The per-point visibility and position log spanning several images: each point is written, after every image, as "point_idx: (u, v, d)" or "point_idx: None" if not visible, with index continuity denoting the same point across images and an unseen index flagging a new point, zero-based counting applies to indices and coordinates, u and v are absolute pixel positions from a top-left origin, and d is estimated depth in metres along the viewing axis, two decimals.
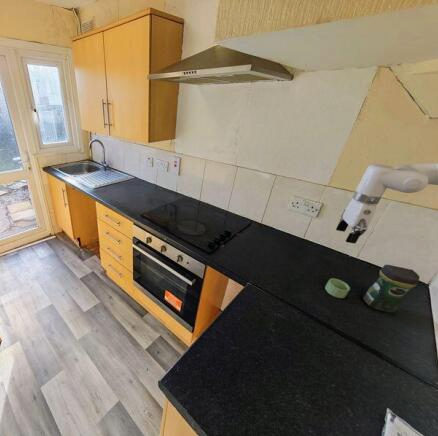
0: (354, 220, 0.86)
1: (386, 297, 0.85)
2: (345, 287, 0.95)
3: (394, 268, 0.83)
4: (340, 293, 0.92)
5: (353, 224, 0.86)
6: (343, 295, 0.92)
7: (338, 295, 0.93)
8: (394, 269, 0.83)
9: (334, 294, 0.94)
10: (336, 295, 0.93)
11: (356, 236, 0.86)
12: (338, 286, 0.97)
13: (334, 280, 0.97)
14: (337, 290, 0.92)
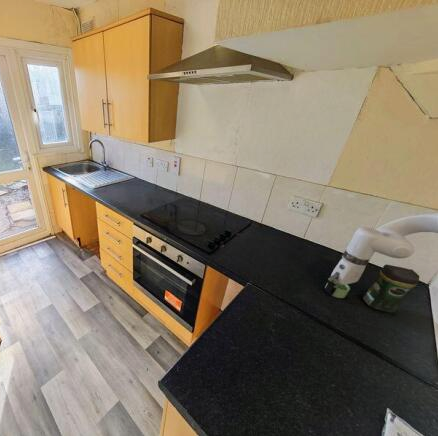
0: None
1: (386, 297, 0.85)
2: (345, 287, 0.95)
3: (394, 268, 0.83)
4: (340, 293, 0.92)
5: (331, 275, 0.93)
6: (343, 295, 0.92)
7: (338, 295, 0.93)
8: (394, 269, 0.83)
9: (334, 294, 0.94)
10: (336, 295, 0.93)
11: (331, 287, 0.93)
12: (338, 286, 0.97)
13: (334, 280, 0.97)
14: (337, 290, 0.92)
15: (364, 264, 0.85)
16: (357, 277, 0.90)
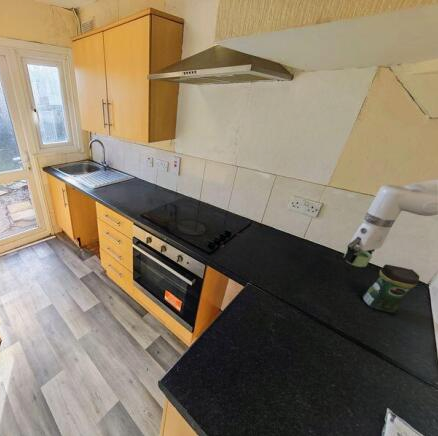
0: None
1: (386, 297, 0.85)
2: (366, 255, 0.87)
3: (394, 268, 0.83)
4: (361, 261, 0.84)
5: (351, 241, 0.85)
6: (364, 263, 0.84)
7: (359, 263, 0.85)
8: (394, 269, 0.83)
9: (354, 263, 0.86)
10: (357, 264, 0.85)
11: (351, 255, 0.85)
12: (358, 255, 0.89)
13: None
14: (358, 258, 0.84)
15: (389, 226, 0.77)
16: (380, 242, 0.82)
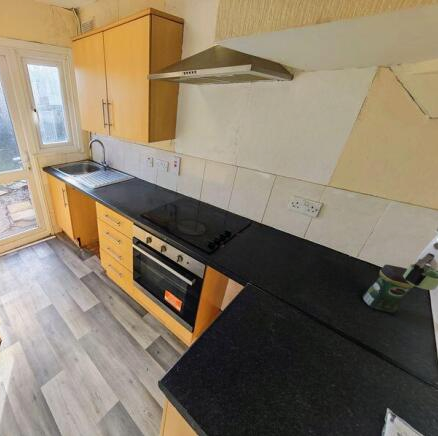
0: (421, 253, 0.67)
1: (386, 297, 0.85)
2: (434, 275, 0.70)
3: (394, 268, 0.83)
4: (430, 283, 0.67)
5: (418, 258, 0.68)
6: (434, 286, 0.68)
7: (427, 286, 0.68)
8: (394, 269, 0.83)
9: (420, 285, 0.69)
10: (424, 286, 0.68)
11: (417, 275, 0.68)
12: None
13: None
14: (426, 279, 0.67)
15: None
16: None
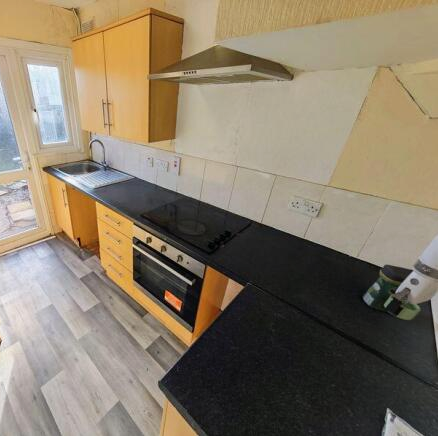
0: None
1: (386, 297, 0.85)
2: (412, 306, 0.75)
3: (394, 268, 0.83)
4: (408, 314, 0.73)
5: (397, 291, 0.73)
6: (411, 316, 0.73)
7: (405, 316, 0.73)
8: (394, 269, 0.83)
9: (399, 315, 0.74)
10: (402, 316, 0.74)
11: (395, 306, 0.73)
12: None
13: None
14: (404, 310, 0.73)
15: None
16: (432, 294, 0.70)
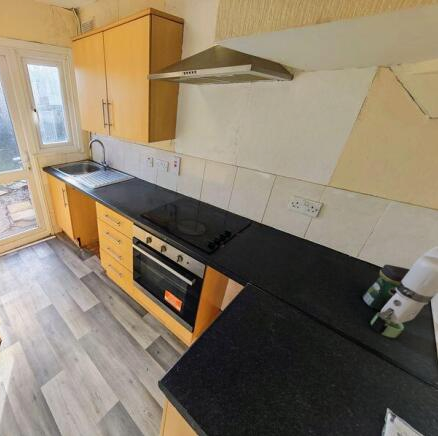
0: (384, 306, 0.77)
1: (386, 297, 0.85)
2: (396, 324, 0.80)
3: (394, 268, 0.83)
4: (392, 332, 0.77)
5: (382, 310, 0.77)
6: (396, 334, 0.77)
7: (389, 334, 0.78)
8: (394, 269, 0.83)
9: (384, 333, 0.78)
10: (387, 334, 0.78)
11: (380, 325, 0.77)
12: None
13: None
14: (388, 328, 0.77)
15: (427, 301, 0.70)
16: (414, 314, 0.75)
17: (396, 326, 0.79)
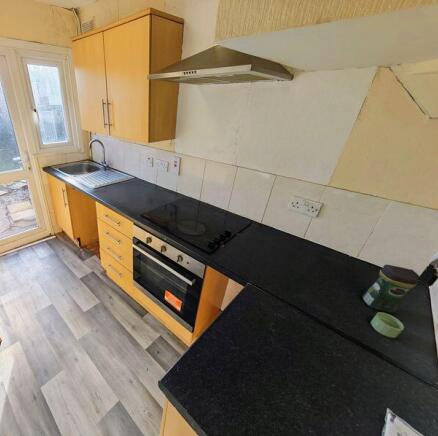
0: (434, 255, 0.68)
1: (386, 297, 0.85)
2: (396, 324, 0.80)
3: (394, 268, 0.83)
4: (392, 332, 0.77)
5: (431, 260, 0.69)
6: (396, 334, 0.77)
7: (389, 334, 0.78)
8: (394, 269, 0.83)
9: (384, 333, 0.78)
10: (387, 334, 0.78)
11: (430, 275, 0.69)
12: (387, 321, 0.82)
13: (382, 314, 0.82)
14: (388, 328, 0.77)
15: None
16: None
17: (396, 326, 0.79)
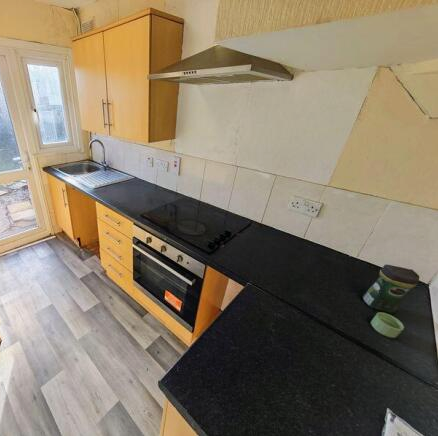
0: None
1: (386, 297, 0.85)
2: (396, 324, 0.80)
3: (394, 268, 0.83)
4: (392, 332, 0.77)
5: None
6: (396, 334, 0.77)
7: (389, 334, 0.78)
8: (394, 269, 0.83)
9: (384, 333, 0.78)
10: (387, 334, 0.78)
11: None
12: (387, 321, 0.82)
13: (382, 314, 0.82)
14: (388, 328, 0.77)
15: None
16: None
17: (396, 326, 0.79)
